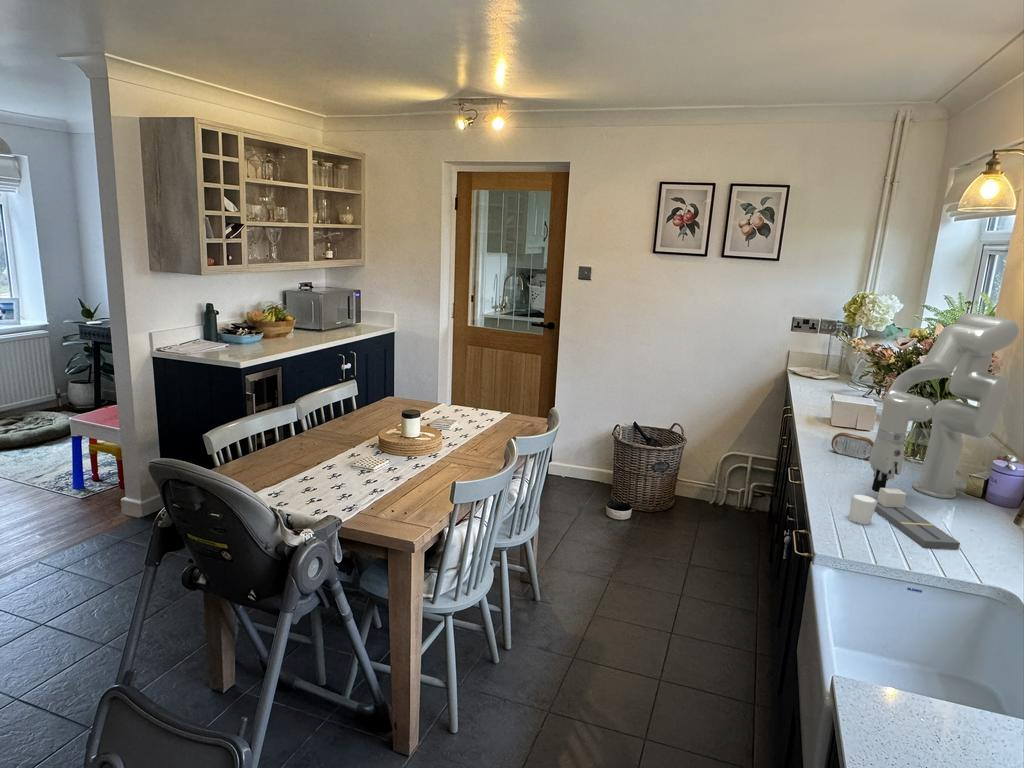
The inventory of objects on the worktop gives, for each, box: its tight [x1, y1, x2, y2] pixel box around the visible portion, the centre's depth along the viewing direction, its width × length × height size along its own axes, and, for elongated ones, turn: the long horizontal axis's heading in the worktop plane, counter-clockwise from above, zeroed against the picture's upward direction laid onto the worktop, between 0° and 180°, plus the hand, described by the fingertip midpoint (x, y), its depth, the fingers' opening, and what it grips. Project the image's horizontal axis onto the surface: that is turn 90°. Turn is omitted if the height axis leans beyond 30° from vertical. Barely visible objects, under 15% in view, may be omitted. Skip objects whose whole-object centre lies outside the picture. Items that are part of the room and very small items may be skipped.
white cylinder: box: [848, 493, 877, 525], centre depth 199 cm, size 7×7×7 cm
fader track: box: [874, 498, 961, 550], centre depth 199 cm, size 28×10×2 cm, turn 4°
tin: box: [830, 432, 874, 461], centre depth 258 cm, size 15×3×8 cm, turn 58°
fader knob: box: [876, 487, 907, 508], centre depth 208 cm, size 4×6×4 cm, turn 94°
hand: (877, 491), depth 214 cm, fingers closed
